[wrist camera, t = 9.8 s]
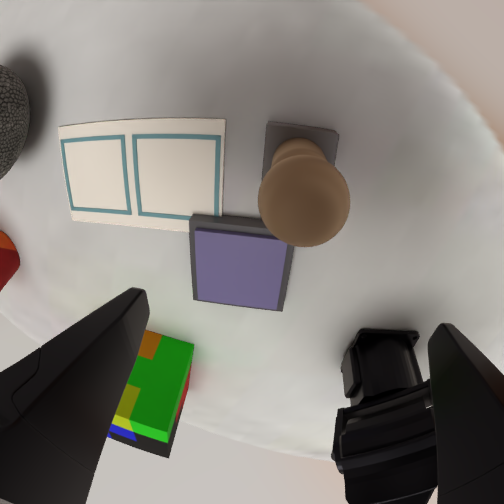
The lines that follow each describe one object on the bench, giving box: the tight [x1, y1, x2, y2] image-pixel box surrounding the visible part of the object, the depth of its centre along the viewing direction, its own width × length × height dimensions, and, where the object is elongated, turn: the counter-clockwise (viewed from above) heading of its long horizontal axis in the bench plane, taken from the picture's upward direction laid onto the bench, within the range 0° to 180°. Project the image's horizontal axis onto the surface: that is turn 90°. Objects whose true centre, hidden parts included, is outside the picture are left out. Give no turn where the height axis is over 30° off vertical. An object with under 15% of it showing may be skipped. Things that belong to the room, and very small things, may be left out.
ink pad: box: [189, 214, 294, 312], centre depth 21 cm, size 7×7×2 cm
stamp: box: [258, 121, 350, 247], centre depth 13 cm, size 4×4×9 cm
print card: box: [58, 118, 226, 232], centre depth 19 cm, size 13×8×1 cm, turn 86°
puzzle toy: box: [107, 330, 194, 458], centre depth 26 cm, size 10×10×10 cm
